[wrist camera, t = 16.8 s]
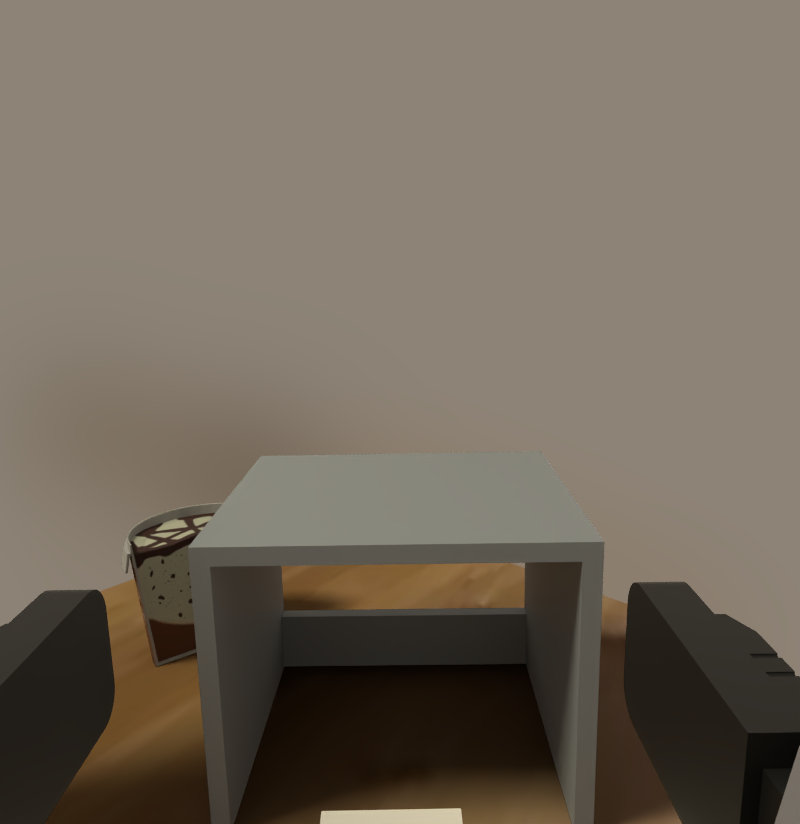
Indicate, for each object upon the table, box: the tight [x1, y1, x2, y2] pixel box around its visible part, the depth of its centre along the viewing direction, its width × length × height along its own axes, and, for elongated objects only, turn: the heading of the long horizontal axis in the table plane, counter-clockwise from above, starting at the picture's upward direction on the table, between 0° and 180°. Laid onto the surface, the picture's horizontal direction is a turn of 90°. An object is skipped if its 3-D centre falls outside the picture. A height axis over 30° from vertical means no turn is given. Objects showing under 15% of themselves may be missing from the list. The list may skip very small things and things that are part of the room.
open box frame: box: [188, 452, 604, 824], centre depth 44 cm, size 20×17×16 cm
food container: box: [122, 503, 223, 667], centre depth 58 cm, size 12×6×10 cm, turn 128°
